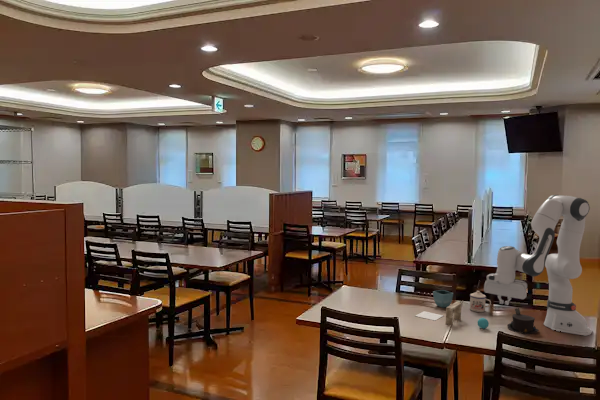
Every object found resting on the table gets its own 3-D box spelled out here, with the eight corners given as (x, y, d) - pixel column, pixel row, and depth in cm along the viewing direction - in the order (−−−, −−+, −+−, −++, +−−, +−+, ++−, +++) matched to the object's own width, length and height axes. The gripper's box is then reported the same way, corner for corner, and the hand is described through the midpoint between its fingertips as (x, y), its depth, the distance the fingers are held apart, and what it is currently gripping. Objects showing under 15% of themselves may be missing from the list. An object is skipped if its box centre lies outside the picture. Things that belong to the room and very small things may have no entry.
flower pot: (431, 305, 286) (432, 291, 285) (442, 303, 290) (443, 289, 289) (442, 309, 278) (443, 294, 277) (453, 307, 282) (453, 293, 281)
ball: (489, 328, 245) (490, 318, 245) (486, 330, 241) (486, 320, 241) (479, 325, 249) (479, 315, 248) (475, 328, 245) (476, 318, 244)
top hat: (542, 330, 244) (543, 311, 244) (532, 337, 234) (533, 317, 233) (513, 323, 255) (514, 304, 255) (502, 329, 245) (503, 310, 244)
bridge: (460, 319, 260) (461, 303, 259) (450, 325, 249) (451, 308, 248) (455, 317, 262) (456, 301, 261) (445, 324, 250) (446, 307, 250)
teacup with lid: (469, 311, 275) (470, 292, 274) (469, 307, 283) (470, 288, 283) (491, 313, 271) (492, 294, 270) (490, 309, 280) (491, 290, 279)
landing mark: (443, 315, 265) (443, 315, 265) (435, 320, 255) (435, 320, 255) (423, 311, 272) (423, 311, 272) (414, 316, 263) (414, 315, 263)
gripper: (529, 280, 233) (527, 307, 233) (487, 273, 246) (486, 299, 246) (525, 282, 228) (524, 309, 229) (483, 275, 241) (482, 301, 242)
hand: (504, 304), depth 238 cm, fingers closed
